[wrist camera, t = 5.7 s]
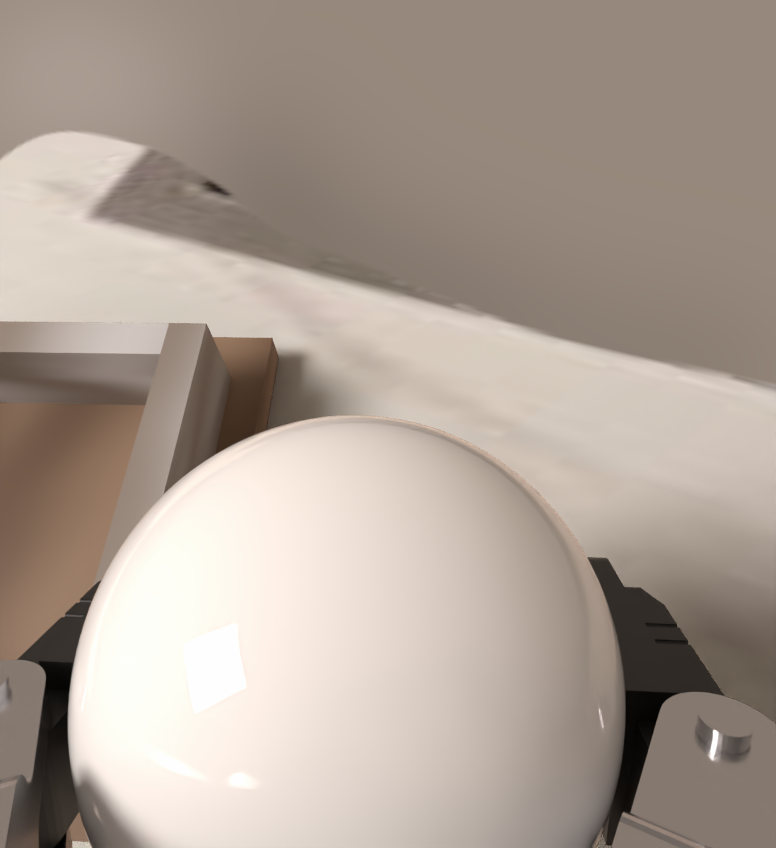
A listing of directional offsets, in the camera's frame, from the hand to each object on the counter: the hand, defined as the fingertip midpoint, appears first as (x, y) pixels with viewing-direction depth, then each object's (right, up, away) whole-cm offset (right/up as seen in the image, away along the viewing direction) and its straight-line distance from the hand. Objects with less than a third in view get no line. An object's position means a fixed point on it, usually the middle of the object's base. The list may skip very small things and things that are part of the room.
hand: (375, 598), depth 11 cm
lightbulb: (0, -4, +4) cm, 5 cm away
